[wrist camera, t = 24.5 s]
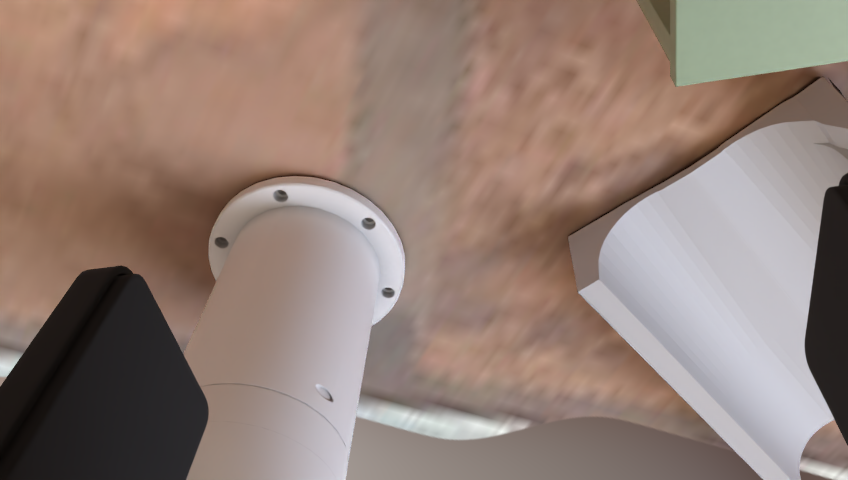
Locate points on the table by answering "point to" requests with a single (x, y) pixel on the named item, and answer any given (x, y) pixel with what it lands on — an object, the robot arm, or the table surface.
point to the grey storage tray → (729, 277)
